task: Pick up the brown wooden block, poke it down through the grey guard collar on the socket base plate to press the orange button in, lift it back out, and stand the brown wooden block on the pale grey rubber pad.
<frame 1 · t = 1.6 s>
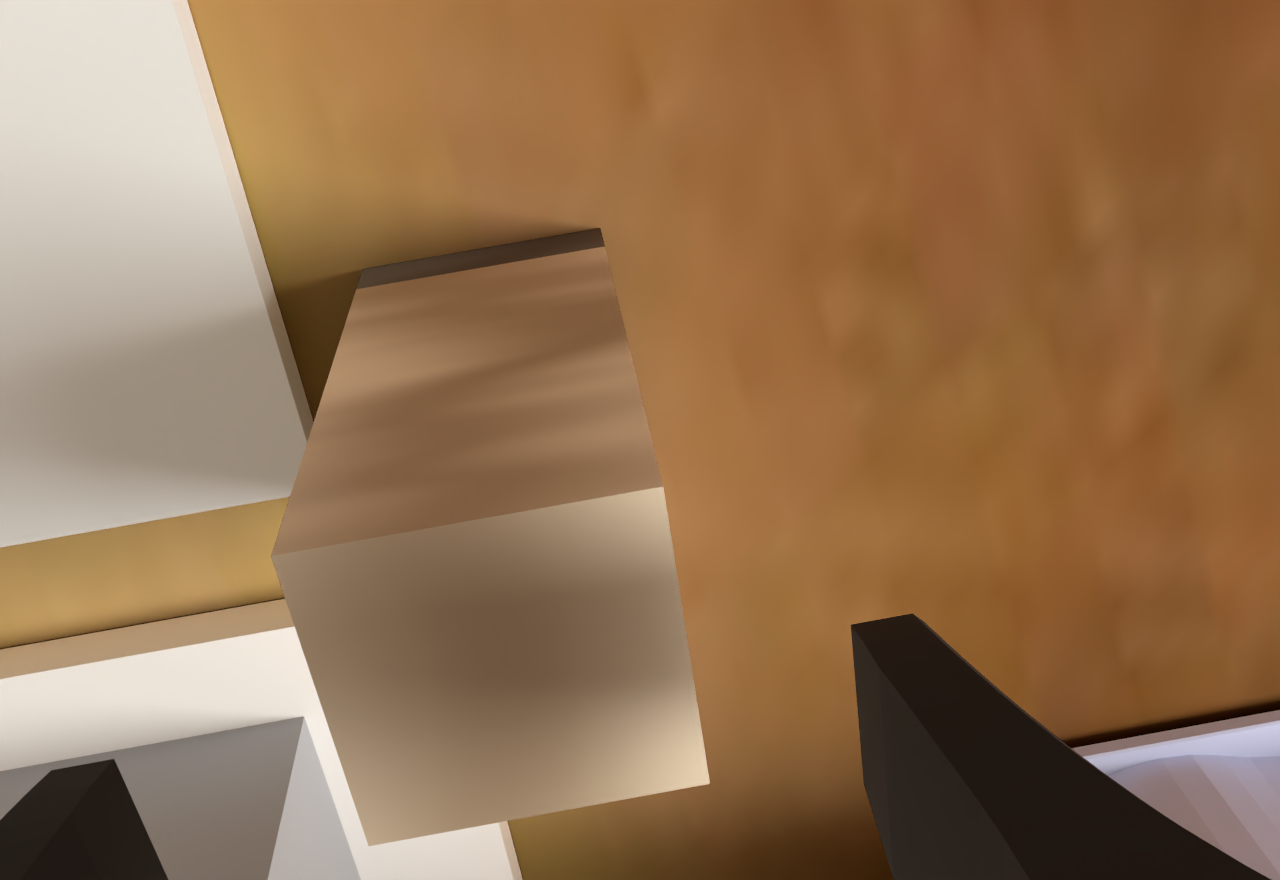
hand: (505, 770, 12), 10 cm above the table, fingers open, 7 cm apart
brown wooden block: (505, 358, 21), on the table
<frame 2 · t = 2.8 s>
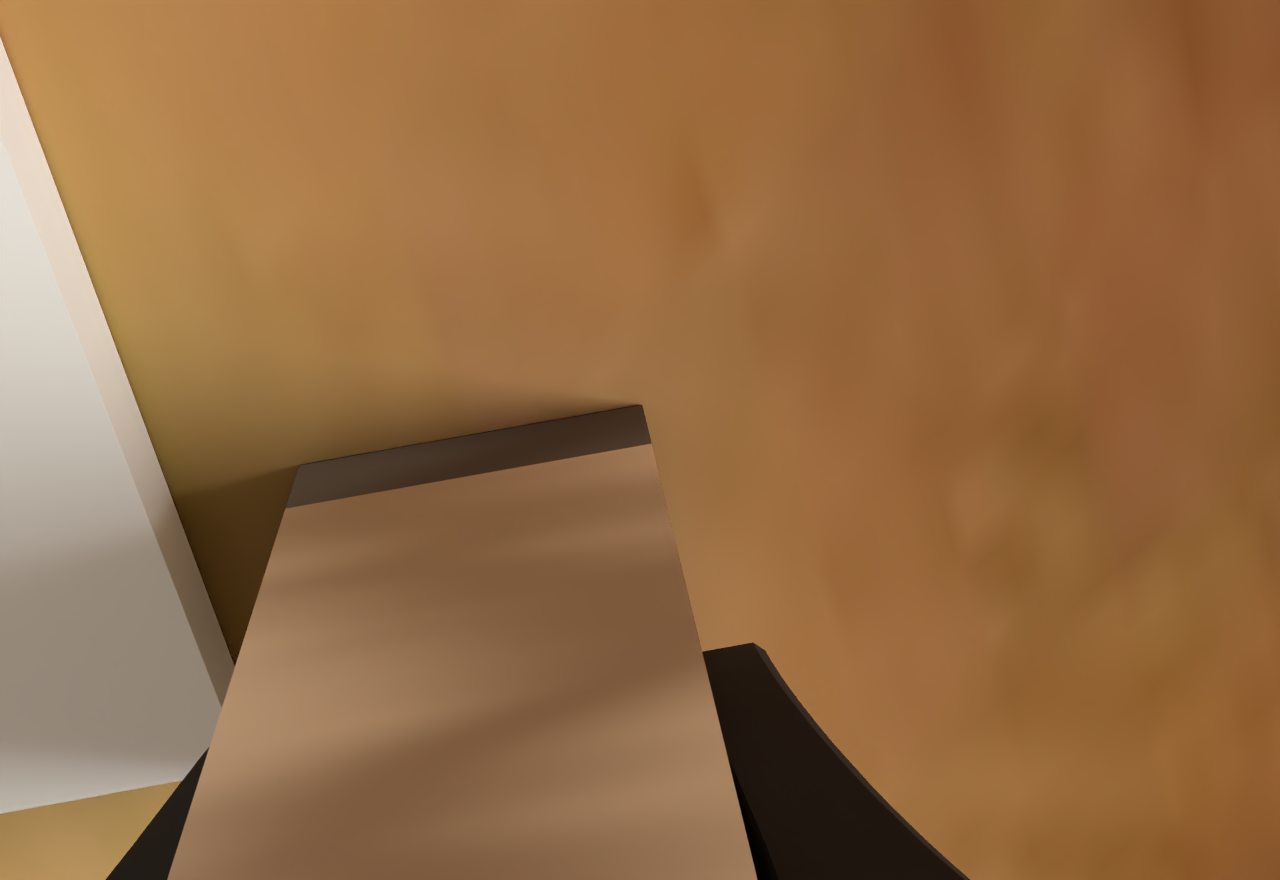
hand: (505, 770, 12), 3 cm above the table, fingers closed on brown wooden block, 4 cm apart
brown wooden block: (505, 578, 15), on the table, touching gripper
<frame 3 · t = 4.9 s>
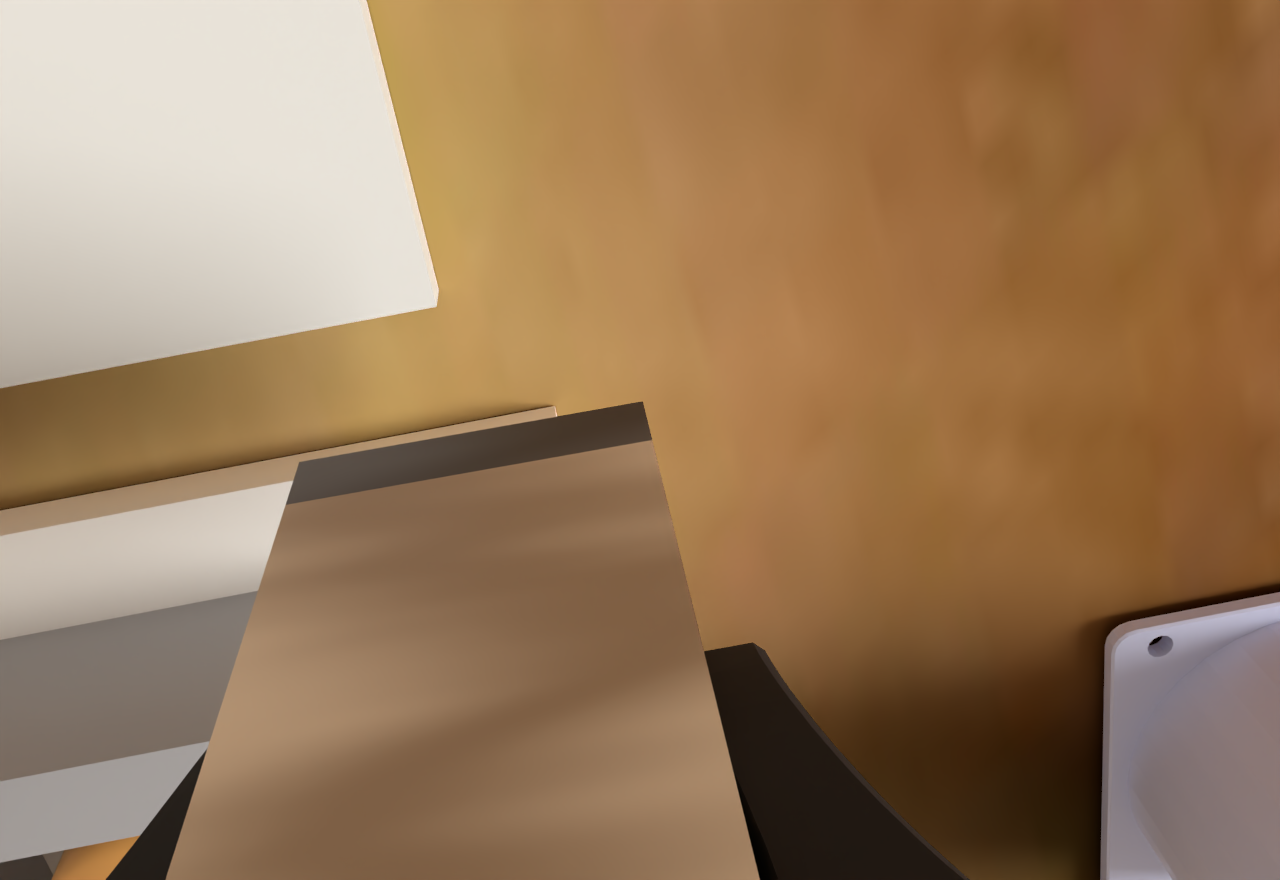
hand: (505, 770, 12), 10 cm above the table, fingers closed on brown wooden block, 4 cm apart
rubber pad: (74, 66, 18), on the table
socket base plate: (231, 786, 25), on the table
brown wooden block: (505, 575, 15), point 7 cm above the table, touching gripper
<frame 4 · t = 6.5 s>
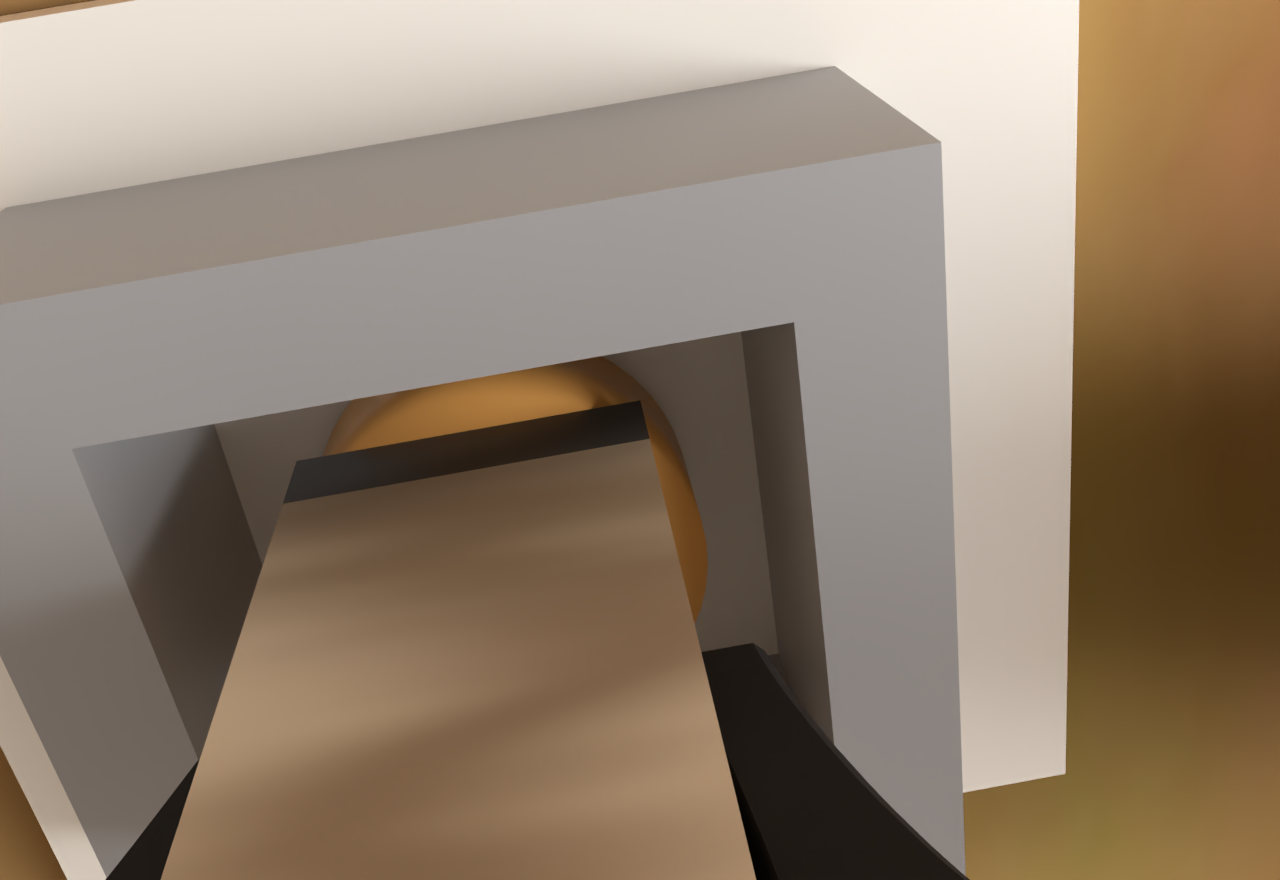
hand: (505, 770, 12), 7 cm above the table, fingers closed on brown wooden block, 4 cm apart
socket base plate: (505, 462, 18), on the table
button: (505, 538, 16), point 2 cm above the table, slide at -1.0 cm, touching brown wooden block
brown wooden block: (503, 574, 15), point 3 cm above the table, touching button, gripper
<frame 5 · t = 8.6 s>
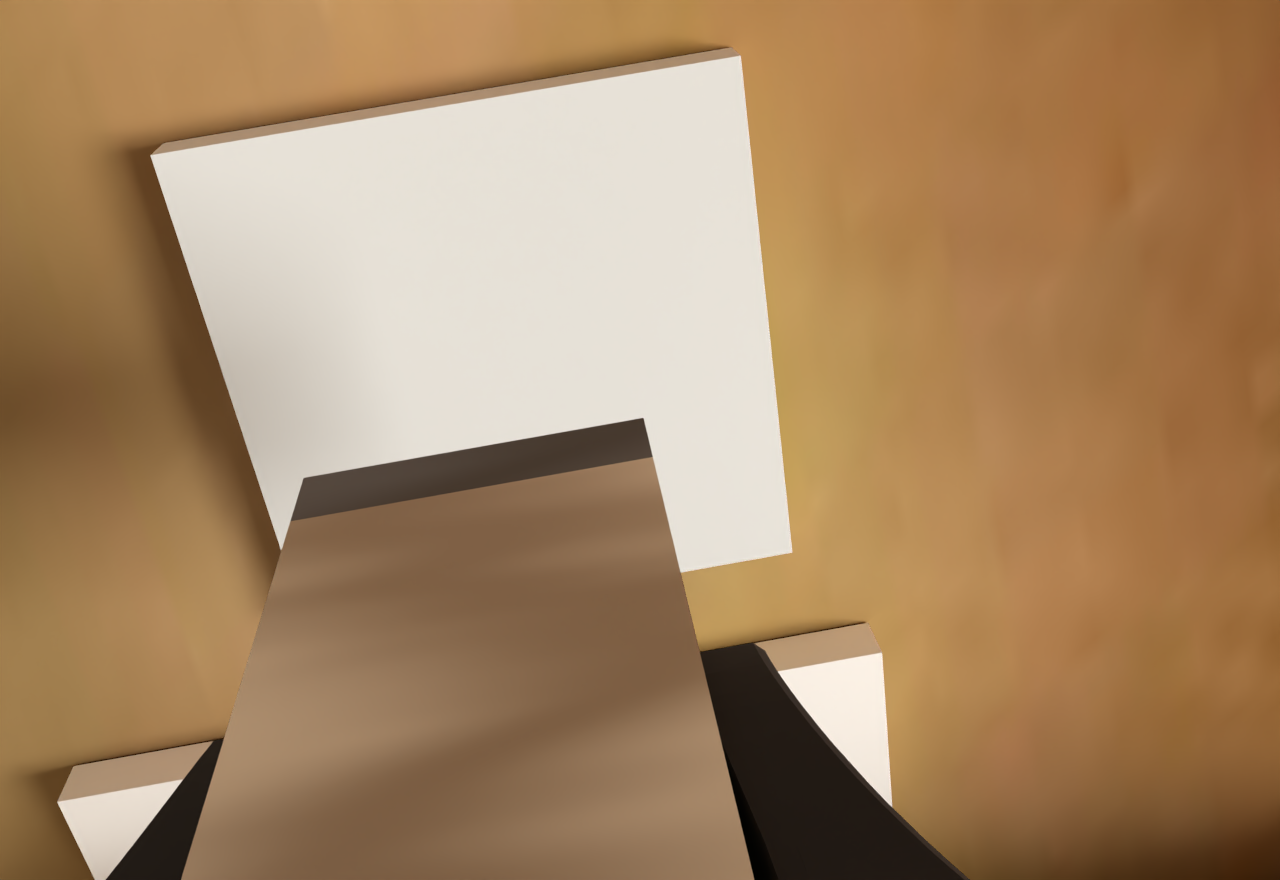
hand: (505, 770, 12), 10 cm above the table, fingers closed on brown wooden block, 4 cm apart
rubber pad: (505, 356, 21), on the table
brown wooden block: (507, 589, 15), point 7 cm above the table, touching gripper
when the fingers open (6 cm above the table, at t = 10.1 s): brown wooden block drops 1 cm, resting on rubber pad.
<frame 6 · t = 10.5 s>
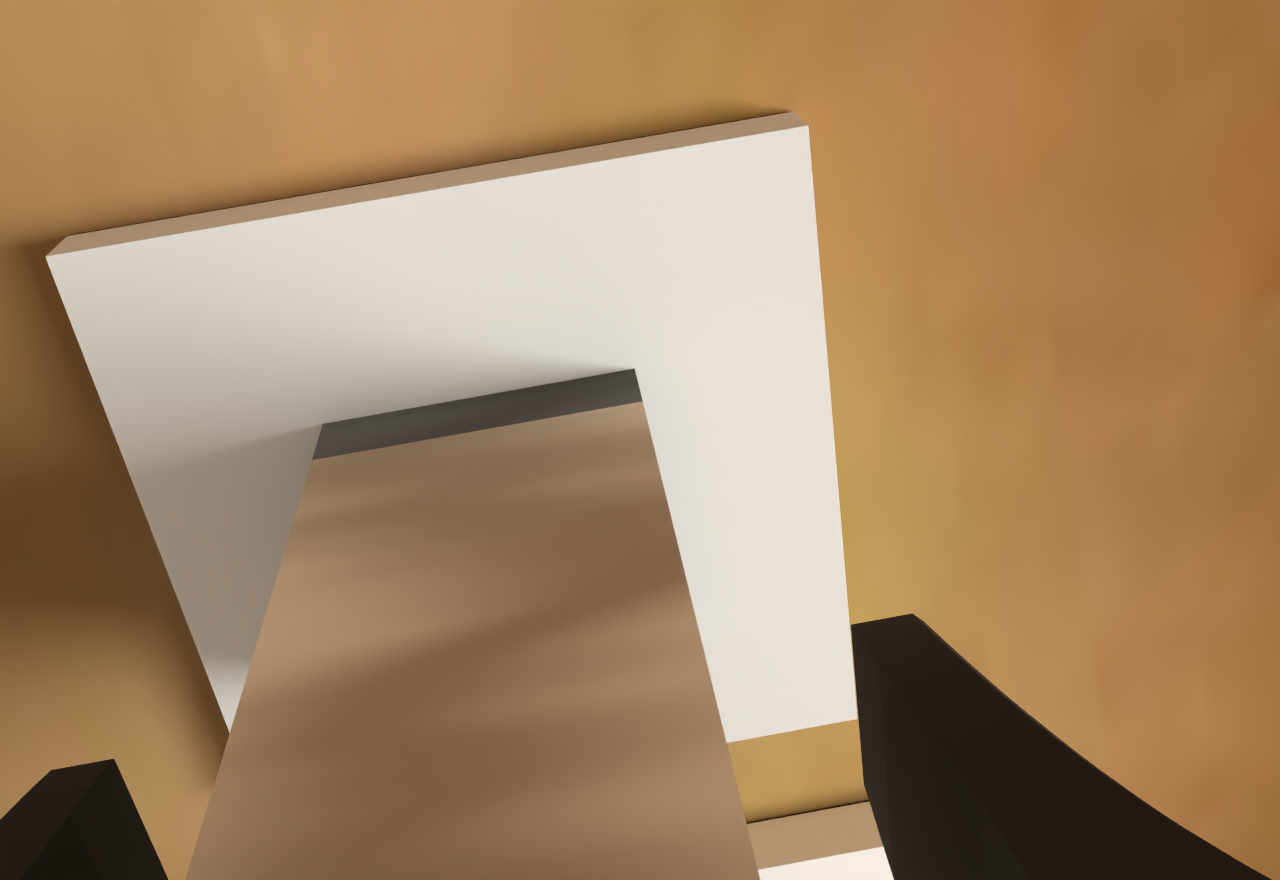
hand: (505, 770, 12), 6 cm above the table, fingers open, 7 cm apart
rubber pad: (504, 489, 17), on the table
brown wooden block: (509, 529, 16), point 1 cm above the table, touching rubber pad
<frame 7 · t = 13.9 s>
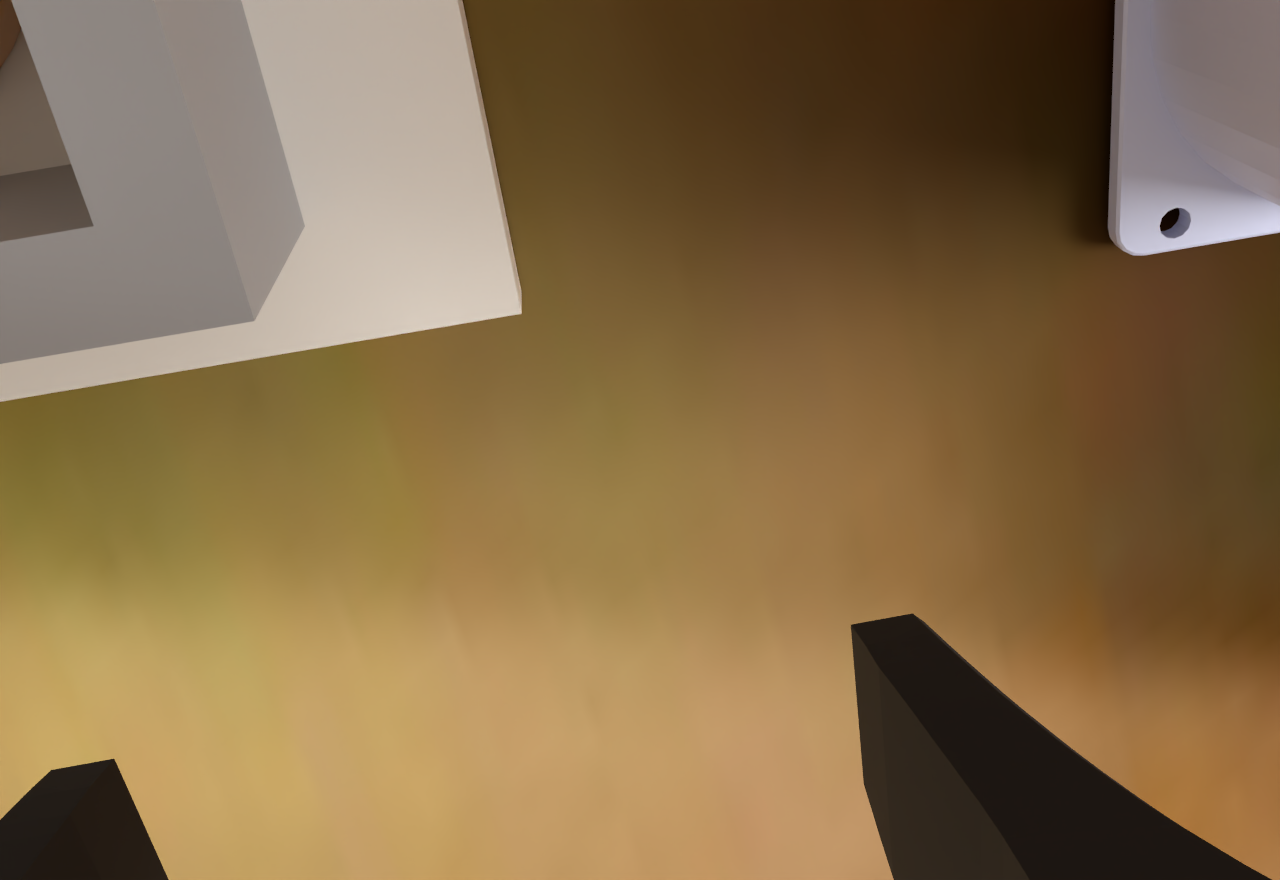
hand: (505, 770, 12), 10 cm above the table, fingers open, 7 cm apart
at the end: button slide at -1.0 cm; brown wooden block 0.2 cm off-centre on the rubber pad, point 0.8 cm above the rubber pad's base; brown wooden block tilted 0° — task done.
